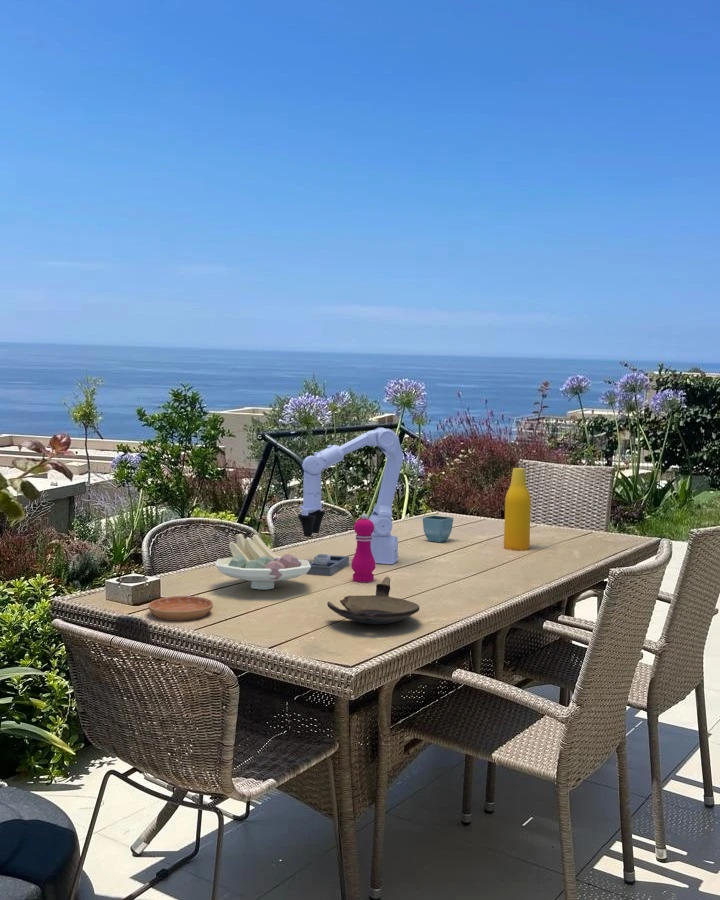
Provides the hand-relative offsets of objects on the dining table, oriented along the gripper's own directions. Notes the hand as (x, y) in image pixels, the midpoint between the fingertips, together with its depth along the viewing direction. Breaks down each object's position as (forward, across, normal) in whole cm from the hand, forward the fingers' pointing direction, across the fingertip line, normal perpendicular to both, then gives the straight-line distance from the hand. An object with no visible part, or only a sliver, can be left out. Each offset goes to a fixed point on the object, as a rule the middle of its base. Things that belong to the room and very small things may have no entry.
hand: (311, 534), depth 294 cm
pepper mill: (+10, +18, +23) cm, 31 cm away
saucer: (+10, +72, -10) cm, 73 cm away
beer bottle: (+10, -52, +61) cm, 81 cm away
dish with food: (+10, +38, -2) cm, 39 cm away
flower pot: (+10, -57, +31) cm, 65 cm away
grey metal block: (+10, +11, +8) cm, 17 cm away
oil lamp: (+10, +61, +39) cm, 73 cm away
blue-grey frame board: (+9, +7, +8) cm, 14 cm away
